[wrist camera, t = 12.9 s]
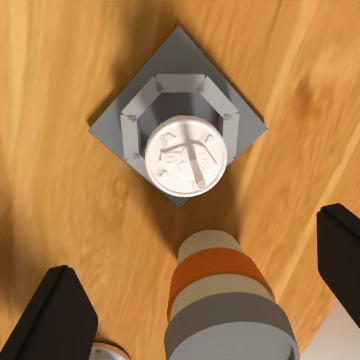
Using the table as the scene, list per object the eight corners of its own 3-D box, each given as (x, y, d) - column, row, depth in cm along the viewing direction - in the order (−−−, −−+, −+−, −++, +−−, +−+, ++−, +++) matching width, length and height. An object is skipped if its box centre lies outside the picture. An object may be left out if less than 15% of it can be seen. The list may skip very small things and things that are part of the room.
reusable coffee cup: (148, 266, 38) (137, 383, 24) (199, 202, 34) (221, 297, 20) (217, 299, 41) (242, 418, 27) (271, 244, 37) (332, 351, 23)
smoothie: (201, 162, 30) (230, 233, 17) (146, 154, 29) (133, 223, 17) (213, 106, 28) (257, 141, 15) (153, 96, 27) (146, 123, 14)
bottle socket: (265, 126, 30) (278, 135, 26) (179, 204, 34) (180, 221, 30) (178, 26, 25) (180, 20, 22) (90, 128, 29) (79, 138, 25)
